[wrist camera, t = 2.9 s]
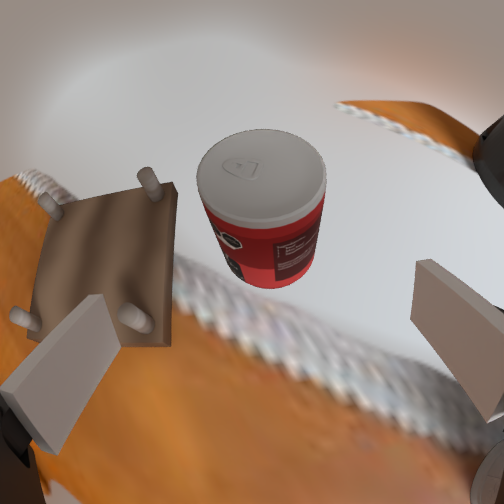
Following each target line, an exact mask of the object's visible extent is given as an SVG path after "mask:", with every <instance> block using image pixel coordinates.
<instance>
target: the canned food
mask: <svg viewBox="0 0 504 504" xmlns="http://www.w3.org/2000/svg"><path fill="white" fill-rule="evenodd" d="M196 177H197V186H198V192H199V194H200V197H201V200H202V203H203V206H204V208H205V211H206V213H207V216H208V218H209V221H210V223H211V226H212V228H213V230H214V232H215V235H216V238H217V240H218V242H219V245H220V247H221V249H222V252H223V254H224V256H225V259H226V261H227V264H228V265H229V267H230V269H231V270H232V272H233V273H234V274H235V275H236V276H237V277H238V278H240V279H241V280H243V281H244V282H246V283H248V284H250V285H253V286H255V287H259V288H265V289H275V288H282V287H284V286H287V285H290V284H292V283H293V282H295V281H297V280H298V279H300V278H301V277H302V276H303V275H304V274H305V273H306V272H307V270H308V269H309V267H310V266H311V264H312V261H313V259H314V253H315V248H316V243H317V238H318V232H319V227H320V222H321V216H322V210H323V204H324V198H325V190H326V182H327V181H326V180H327V179H326V168H325V164H324V162H323V159H322V157H321V156H320V154H319V153H318V152H317V150H316V149H315V148H314V147H313V146H311V145H310V144H309V143H308V142H306V141H305V140H303V139H302V138H300V137H298V136H295V135H293V134H290V133H287V132H283V131H279V130H270V129H256V130H249V131H244V132H240V133H236V134H233V135H231V136H229V137H227V138H224V139H223V140H221V141H220V142H218V143H217V144H215V145H214V146H213V147H212V148H211V149H210V150H208V152H207V153H206V154H205V155H204V157H203V158H202V160H201V162H200V164H199V166H198V171H197V176H196Z"/></svg>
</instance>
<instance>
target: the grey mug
mask: <svg viewBox="0 0 504 504" xmlns="http://www.w3.org/2000/svg"><path fill="white" fill-rule="evenodd" d="M503 470H504V440H502V441H501V442H499V443H498V444H497V445H496V446H495V447H494V448H493V449H492V450H491V451H490V452H489V454H488V455H487V456H486V457H485V459H484V460H483V462H482V464H481V465H480V467H479V469H478V471H477V473H476V475H475V478H474V480H473V484H472V487H471V493H470V501H471V504H495V501H496V497H497V494H498V490H499V487H500V483H501V479H502V474H503Z"/></svg>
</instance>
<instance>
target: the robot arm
mask: <svg viewBox="0 0 504 504" xmlns="http://www.w3.org/2000/svg"><path fill="white" fill-rule="evenodd" d="M473 160H474V164H475V167H476V170H477V172H478V174H479V176H480V178H481V180H482V182H483V183H484V185H485V187H486V188H487V189H488V191H489V192H490V194H491V195H492V196H493V197H494V199H495V200H496V201H497V202H498V203H499V204H500V205H501V206H502V207H503V208H504V115H503V116H502V117H500V118H499V119H498V120H497V121H496V122H495V123H494V124H492V125H491V126H490V127H489V128H487V129H486V130H485V131H484V132H483V133H482V134H481V135H480V137H479V139H478V140H477V142H476V144H475V146H474V149H473ZM410 320H411V321H412V322H413V323H414V324H415V326H416V327H417V328H418V329H419V331H420V332H421V333H422V334H423V336H424V337H425V338H426V339H427V341H428V342H429V343H430V345H431V346H432V347H433V348H434V350H435V351H436V352H437V354H438V355H439V356H440V358H441V359H442V360H443V362H444V363H445V364H446V366H447V367H448V368H449V370H450V371H451V372H452V374H453V375H454V377H455V378H456V379H457V381H458V382H459V383H460V385H461V386H462V388H463V389H464V390H465V392H466V393H467V395H468V396H469V398H470V399H471V400H472V402H473V403H474V405H475V406H476V408H477V409H478V411H479V412H480V414H481V415H482V417H483V418H484V420H485V421H486V423H489V422H491V421H493V420H495V419H497V418H499V417H501V416H503V415H504V310H503V309H501V308H499V307H496V306H494V305H492V304H491V303H490V302H488V301H487V300H486V299H484V298H483V297H482V296H481V295H480V294H478V293H477V292H475V291H474V290H473V289H471V288H470V287H469V286H468V285H466V284H465V283H464V282H462V281H461V280H460V279H458V278H457V277H456V276H454V275H453V274H451V273H450V272H449V271H447V270H446V269H445V268H443V267H442V266H440V265H439V264H438V263H436V262H435V261H433V260H432V259H427V260H420V261H416V271H415V282H414V292H413V301H412V310H411V317H410ZM120 349H121V345H120V343H119V340H118V337H117V335H116V332H115V329H114V326H113V323H112V321H111V318H110V315H109V312H108V309H107V306H106V303H105V299H104V296H103V294H95V295H88V296H87V297H86V298H85V299H84V300H83V301H82V302H81V303H80V304H79V305H78V306H77V307H76V308H75V309H74V310H73V311H72V312H71V313H70V314H69V315H68V316H67V317H65V318H64V319H63V320H62V321H61V322H60V323H59V324H58V325H57V326H56V327H55V328H54V329H53V330H52V331H51V332H50V333H49V335H48V336H47V337H46V338H45V339H44V340H43V341H42V342H41V343H40V344H39V345H38V346H37V347H36V348H35V349H34V350H33V351H32V352H31V353H30V354H29V355H28V356H27V358H26V359H25V360H24V361H23V362H22V363H21V364H20V365H19V366H18V367H17V368H16V370H15V371H14V372H13V373H12V374H11V375H10V376H9V377H8V378H7V380H6V381H5V382H4V383H3V384H2V385H1V386H0V504H46V503H45V499H44V495H43V491H42V487H41V483H40V479H39V475H38V470H37V465H36V460H35V455H34V451H33V449H32V447H31V446H30V445H29V444H30V442H31V441H32V439H33V440H34V442H35V443H36V444H37V445H38V446H39V448H40V449H41V450H42V451H45V452H48V453H51V454H54V455H58V454H59V452H60V450H61V448H62V446H63V444H64V443H65V441H66V439H67V437H68V435H69V434H70V432H71V430H72V428H73V426H74V425H75V423H76V421H77V419H78V418H79V416H80V414H81V413H82V411H83V409H84V407H85V406H86V404H87V402H88V401H89V399H90V397H91V396H92V394H93V392H94V391H95V389H96V387H97V386H98V384H99V382H100V381H101V379H102V377H103V376H104V374H105V372H106V371H107V369H108V368H109V366H110V364H111V363H112V361H113V360H114V358H115V356H116V355H117V353H118V352H119V350H120ZM503 432H504V430H503ZM495 504H504V470H503V474H502V479H501V483H500V487H499V490H498V494H497V497H496V501H495Z"/></svg>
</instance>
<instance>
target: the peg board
mask: <svg viewBox="0 0 504 504" xmlns="http://www.w3.org/2000/svg"><path fill="white" fill-rule="evenodd" d="M137 178H138V180H139V182H140V183H141V185H142V186H143V187H141V188H135V189H130V190H125V191H121V192H115V193H111V194H106V195H102V196H97V197H92V198H88V199H84V200H79V201H75V202H71V203H67V204H63V205H58V203H57V202H56V201H55V200H54V199H53V198H52V197H51V196H50V195H49V194H48V193H47V192H45V193H43V194H42V195H41V196H40V197H39V199H38V204H39V205H40V206H41V207H42V208H43V209H44V210H45V211H46V212H47V213H48V214H49V215H50V216H51V218H50V221H49V224H48V228H47V232H46V235H45V239H44V243H43V247H42V251H41V255H40V259H39V264H38V269H37V273H36V278H35V284H34V289H33V295H32V301H31V307H30V313H29V312H27V311H25V310H23V309H21V308H19V307H17V306H14V307H12V309H11V311H10V315H9V317H10V320H11V322H13V323H15V324H18V325H20V326H22V327H25V328H27V329H28V330H27V338H28V339H30V340H33V341H36V342H38V343H41V342H42V341H43V340H44V339H45V338H46V337H47V336H48V335H49V333H50V332H51V331H52V330H53V329H54V328H55V327H56V326H57V325H58V324H59V323H60V322H61V321H62V320H63V319H64V318H65V317H67V316H68V315H69V314H70V313H71V312H72V311H73V310H74V309H75V308H76V307H77V306H78V305H79V304H80V303H81V302H82V301H83V300H84V299H85V298H86V297H87V296H88V295H95V294H103V296H104V299H105V303H106V306H107V309H108V312H109V315H110V318H111V321H112V323H113V326H114V329H115V332H116V335H117V337H118V340H119V343H120V345H121V347H171V309H172V276H173V255H174V239H175V224H176V211H177V199H178V192H177V190H176V188H175V186H174V184H173V182H169V183H163V184H160V183H159V181H158V180H157V177H156V175H155V174H154V172H153V170H152V168H150V167H144V168H142V169H141V170H140V171H139V172H138V173H137Z"/></svg>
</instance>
